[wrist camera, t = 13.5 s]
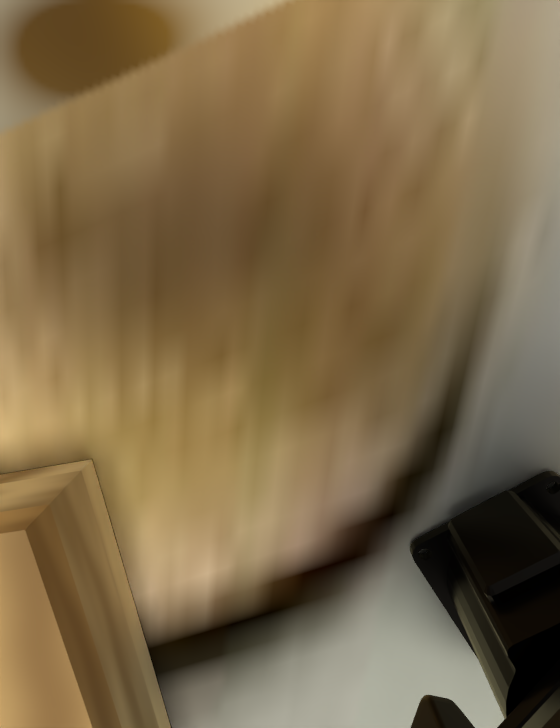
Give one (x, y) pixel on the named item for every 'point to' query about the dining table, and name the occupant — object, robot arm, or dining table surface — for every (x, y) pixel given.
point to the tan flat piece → (68, 610)
